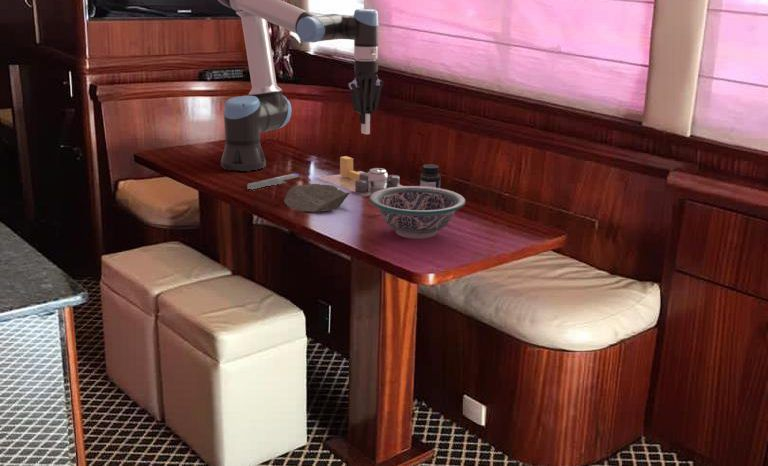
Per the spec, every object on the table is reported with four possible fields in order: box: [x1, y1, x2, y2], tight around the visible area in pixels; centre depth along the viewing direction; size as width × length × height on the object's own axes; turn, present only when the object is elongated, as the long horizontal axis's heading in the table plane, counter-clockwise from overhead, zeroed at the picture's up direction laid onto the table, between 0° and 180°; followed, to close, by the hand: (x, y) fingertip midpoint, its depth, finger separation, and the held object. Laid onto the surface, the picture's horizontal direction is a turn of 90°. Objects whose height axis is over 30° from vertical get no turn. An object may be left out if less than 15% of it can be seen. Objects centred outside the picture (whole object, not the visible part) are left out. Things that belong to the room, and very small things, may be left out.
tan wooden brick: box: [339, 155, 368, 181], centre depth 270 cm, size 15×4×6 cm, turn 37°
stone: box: [283, 183, 350, 212], centre depth 246 cm, size 20×4×15 cm
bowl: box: [369, 185, 466, 240], centre depth 222 cm, size 25×25×10 cm
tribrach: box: [317, 167, 403, 197], centre depth 267 cm, size 26×17×7 cm, turn 37°
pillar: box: [246, 172, 300, 191], centre depth 268 cm, size 2×2×20 cm
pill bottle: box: [419, 164, 442, 188], centre depth 251 cm, size 6×6×11 cm
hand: (365, 133), depth 275 cm, fingers closed
